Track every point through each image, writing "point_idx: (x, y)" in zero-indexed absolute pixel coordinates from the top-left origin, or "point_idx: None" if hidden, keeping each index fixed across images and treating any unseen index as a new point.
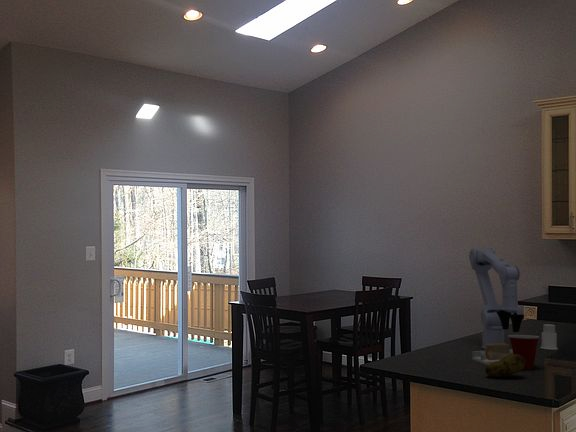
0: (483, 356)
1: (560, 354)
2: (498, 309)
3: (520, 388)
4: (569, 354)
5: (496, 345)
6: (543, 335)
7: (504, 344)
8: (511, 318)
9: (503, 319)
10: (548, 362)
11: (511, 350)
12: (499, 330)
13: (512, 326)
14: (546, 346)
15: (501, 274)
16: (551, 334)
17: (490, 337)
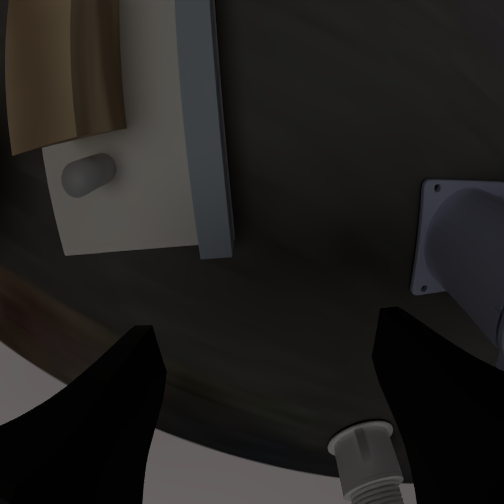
0: None
1: (236, 434)
2: None
3: None
4: (229, 451)
5: (6, 44)
6: (376, 471)
7: (18, 117)
8: (27, 440)
9: (440, 405)
10: (64, 322)
11: (62, 173)
12: (496, 308)
13: (120, 363)
14: (350, 439)
15: None
16: (346, 491)
17: (498, 218)
